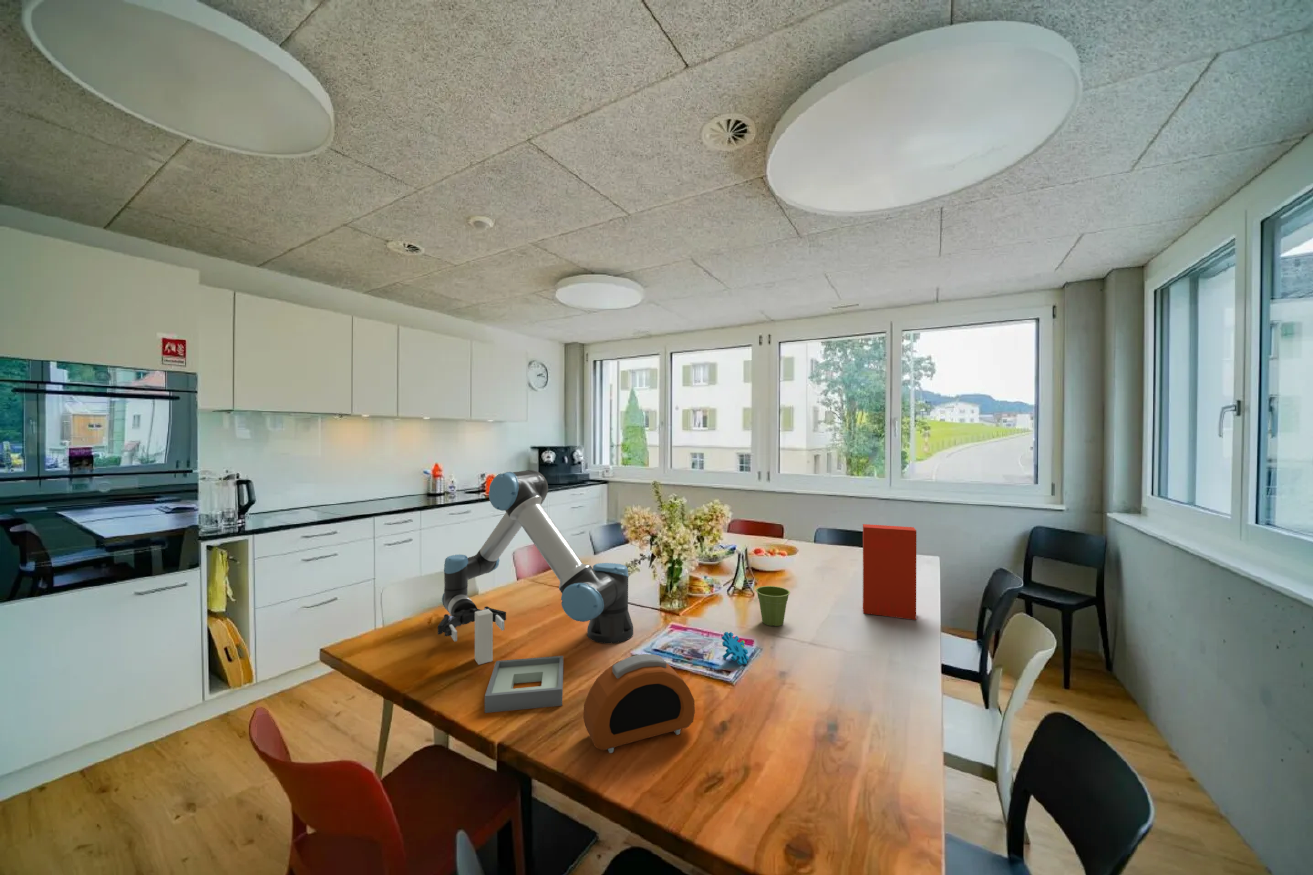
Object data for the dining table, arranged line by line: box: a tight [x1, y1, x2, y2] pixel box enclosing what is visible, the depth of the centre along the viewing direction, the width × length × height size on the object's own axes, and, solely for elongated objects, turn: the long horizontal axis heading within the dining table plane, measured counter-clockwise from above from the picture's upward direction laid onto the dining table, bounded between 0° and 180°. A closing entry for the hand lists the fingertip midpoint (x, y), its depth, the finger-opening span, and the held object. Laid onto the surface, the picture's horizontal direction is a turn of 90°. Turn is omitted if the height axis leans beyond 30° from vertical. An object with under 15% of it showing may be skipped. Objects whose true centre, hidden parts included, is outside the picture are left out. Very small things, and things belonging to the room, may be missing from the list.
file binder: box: [862, 523, 917, 621], centre depth 178 cm, size 8×17×32 cm, turn 69°
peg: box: [474, 609, 494, 665], centre depth 140 cm, size 4×4×14 cm
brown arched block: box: [582, 653, 696, 754], centre depth 106 cm, size 23×9×17 cm, turn 114°
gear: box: [721, 631, 750, 666], centre depth 141 cm, size 11×6×10 cm
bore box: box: [484, 655, 564, 714], centre depth 124 cm, size 18×18×4 cm
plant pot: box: [755, 585, 791, 627], centre depth 169 cm, size 12×12×11 cm
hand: (480, 631), depth 142 cm, fingers open, 13 cm apart
